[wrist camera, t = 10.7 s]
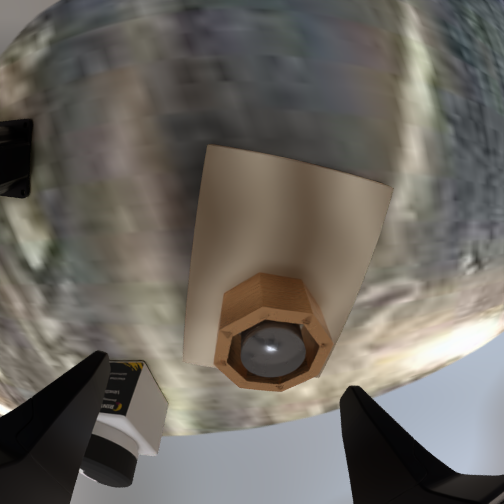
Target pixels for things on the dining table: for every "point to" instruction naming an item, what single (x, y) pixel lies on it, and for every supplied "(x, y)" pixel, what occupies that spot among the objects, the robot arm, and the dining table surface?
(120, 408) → the medicine bottle
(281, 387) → the ring
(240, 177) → the piston stand
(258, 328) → the piston
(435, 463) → the robot arm
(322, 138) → the dining table surface
